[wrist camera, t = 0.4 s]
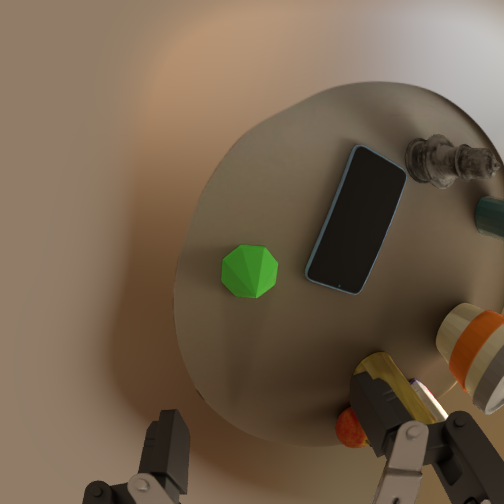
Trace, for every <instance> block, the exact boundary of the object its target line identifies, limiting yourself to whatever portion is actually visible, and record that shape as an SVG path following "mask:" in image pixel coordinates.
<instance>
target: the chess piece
mask: <svg viewBox="0 0 504 504" xmlns="http://www.w3.org/2000/svg"><path fill="white" fill-rule="evenodd" d="M406 166H407V169H408V172H409V173H410V175H411V177H412V178H413V179H414V180H415V181H417V182H419V183H428V182H430V183H432V184H433V185H434V186H435V187H437V188H441V189H444V188H448V187H449V186H451V185H452V184H453V182H454V181H455V179H456V177H460V178H461V179H462V180H464V181H470V180H472V179H473V178H475V179H482V180H490V179H492V178H493V177H494V176H495V174H496V170H497V169H499V168H500V167H501V164H500V163H499V162H498V161H497V162H496V158H495V156H494V154H493V153H492V152H491V151H490V150H488V149H486V148H471V147H470V146H468V145H466V144H462V145H460V146H459V147H454V146H453V144H452V143H451V141H450V140H449V139H448V138H446V137H445V136H443V135H440V134H437V135H433V136H431V137H429V139H427V140H425V139H415V140H413V141H412V142H411V143H410V144H409V146H408V148H407V151H406Z"/></svg>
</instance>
